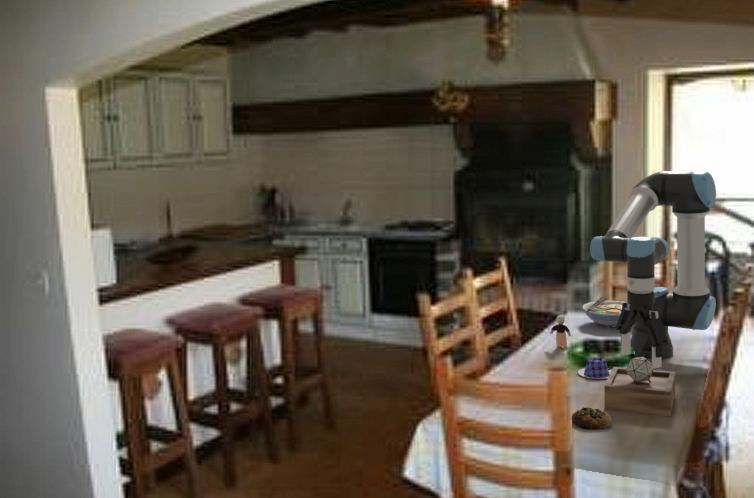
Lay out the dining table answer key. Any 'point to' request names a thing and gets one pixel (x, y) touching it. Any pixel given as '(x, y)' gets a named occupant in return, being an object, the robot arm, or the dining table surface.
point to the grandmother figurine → (561, 333)
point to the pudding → (595, 369)
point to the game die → (639, 369)
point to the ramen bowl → (604, 311)
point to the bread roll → (591, 419)
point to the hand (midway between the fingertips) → (641, 361)
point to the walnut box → (640, 393)
